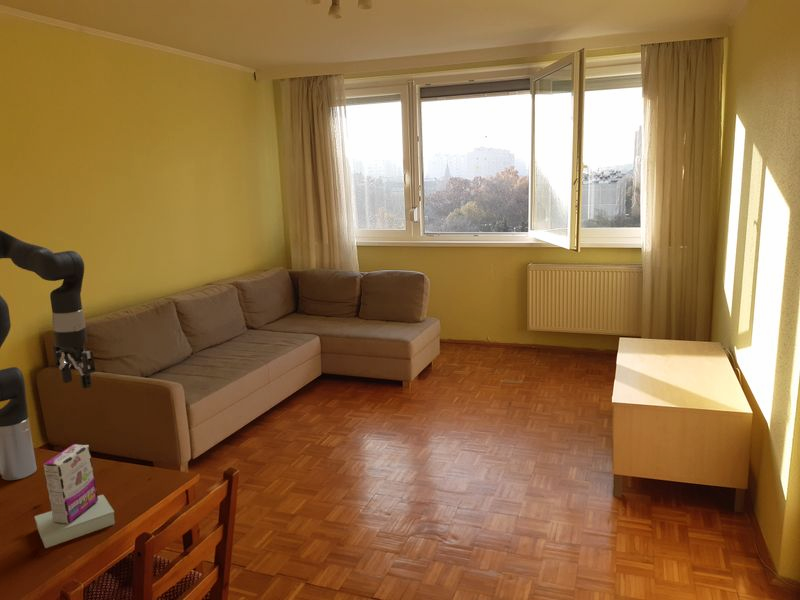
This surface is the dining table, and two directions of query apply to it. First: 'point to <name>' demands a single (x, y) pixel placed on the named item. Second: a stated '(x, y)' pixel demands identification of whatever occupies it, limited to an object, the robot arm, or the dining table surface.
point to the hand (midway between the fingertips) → (77, 384)
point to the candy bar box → (70, 483)
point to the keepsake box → (75, 523)
